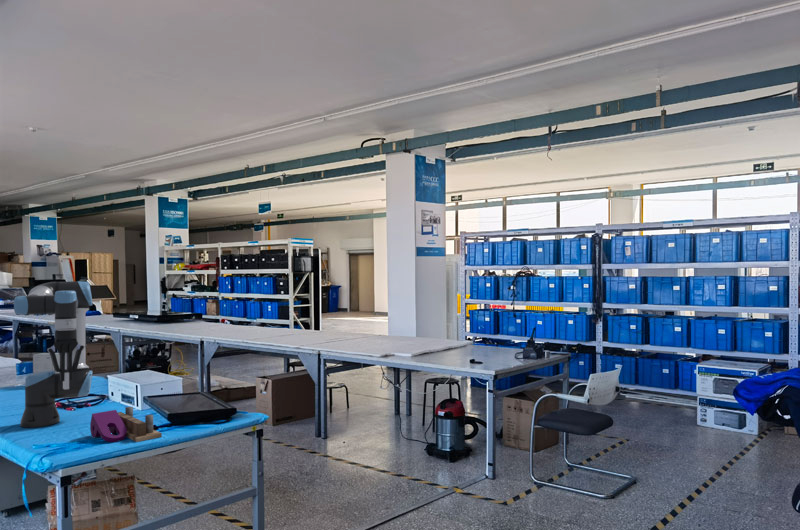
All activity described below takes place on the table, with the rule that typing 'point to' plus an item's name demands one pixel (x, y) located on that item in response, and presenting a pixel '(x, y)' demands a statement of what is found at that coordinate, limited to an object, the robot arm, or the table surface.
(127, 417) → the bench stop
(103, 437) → the mounting bracket
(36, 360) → the hard drive box
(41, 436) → the table surface
